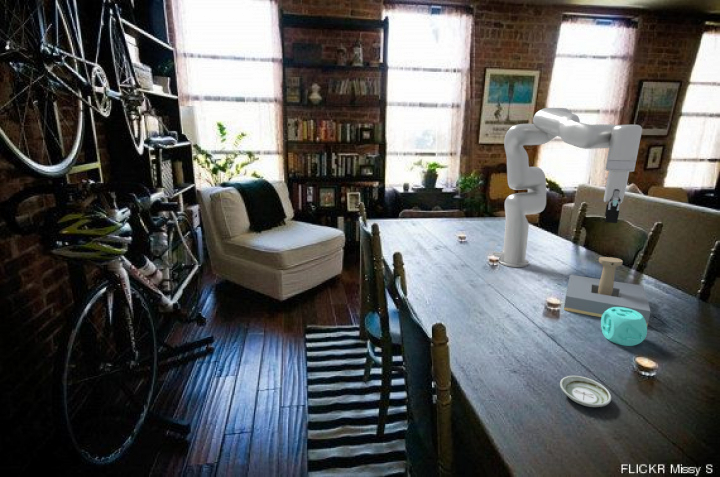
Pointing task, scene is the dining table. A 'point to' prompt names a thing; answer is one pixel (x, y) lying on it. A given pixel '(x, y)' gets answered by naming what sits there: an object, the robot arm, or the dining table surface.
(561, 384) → the saucer
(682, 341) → the dining table surface
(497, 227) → the dining table surface
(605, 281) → the handle
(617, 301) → the socket block
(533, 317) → the dining table surface
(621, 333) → the decorative dice
